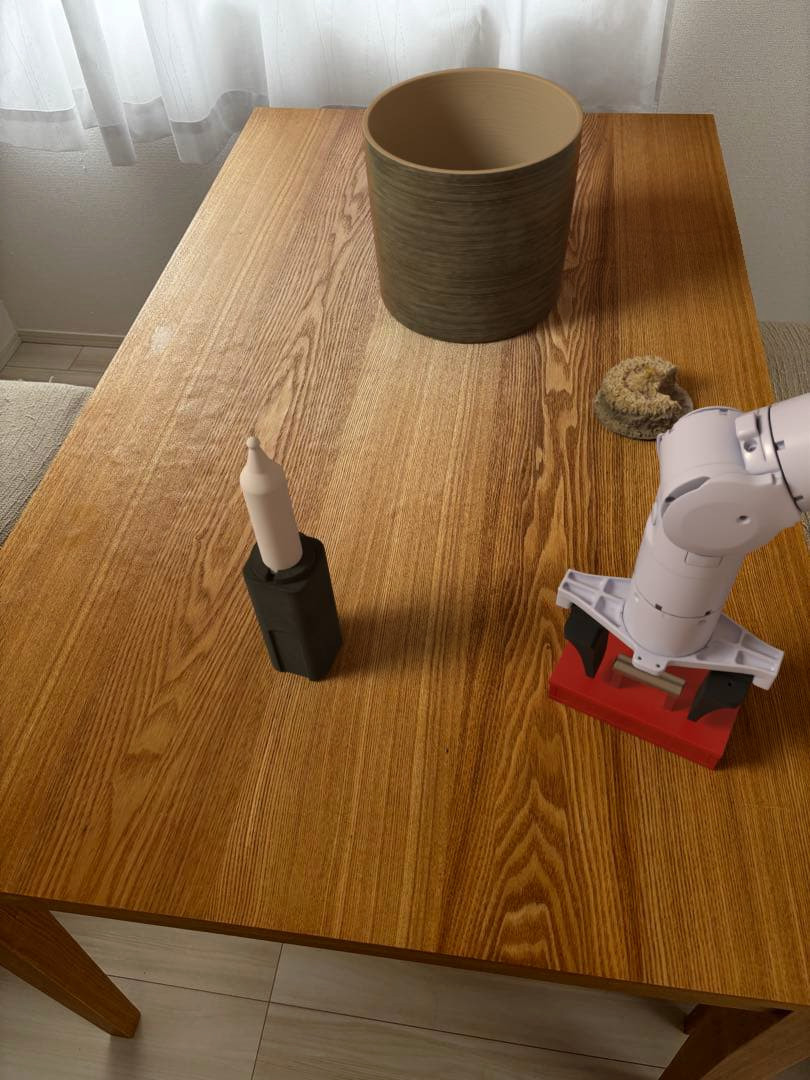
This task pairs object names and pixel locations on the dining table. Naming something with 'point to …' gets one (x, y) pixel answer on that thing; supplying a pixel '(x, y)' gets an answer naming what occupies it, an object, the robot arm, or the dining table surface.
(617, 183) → the dining table surface
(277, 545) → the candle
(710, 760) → the red box base
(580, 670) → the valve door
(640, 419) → the cake
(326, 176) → the dining table surface
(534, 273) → the planter
